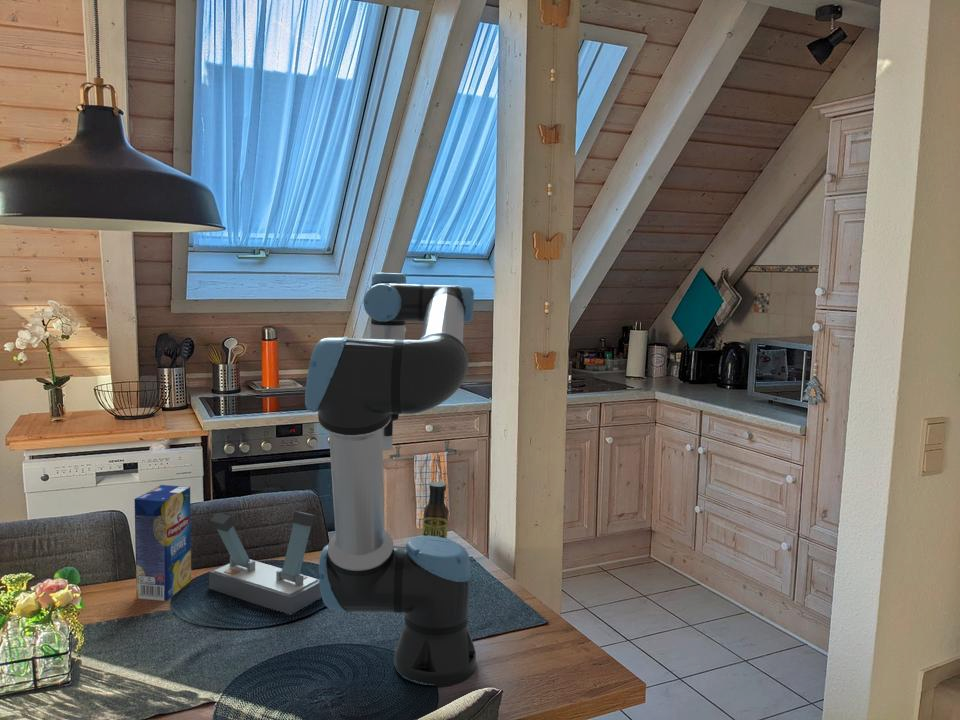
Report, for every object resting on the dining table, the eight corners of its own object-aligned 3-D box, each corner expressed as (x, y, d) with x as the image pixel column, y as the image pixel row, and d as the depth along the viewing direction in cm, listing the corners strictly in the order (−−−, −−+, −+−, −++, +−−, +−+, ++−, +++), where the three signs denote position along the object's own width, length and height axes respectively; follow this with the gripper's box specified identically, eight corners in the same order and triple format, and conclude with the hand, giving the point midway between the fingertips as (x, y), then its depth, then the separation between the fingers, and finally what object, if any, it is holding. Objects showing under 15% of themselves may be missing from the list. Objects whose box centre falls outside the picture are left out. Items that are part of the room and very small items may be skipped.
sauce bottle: (419, 565, 188) (421, 486, 185) (422, 555, 194) (424, 479, 192) (445, 566, 188) (448, 488, 185) (447, 557, 194) (450, 480, 191)
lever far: (253, 563, 172) (230, 516, 164) (246, 571, 170) (223, 523, 163) (240, 559, 174) (217, 512, 166) (233, 567, 172) (209, 520, 165)
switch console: (322, 598, 168) (323, 570, 167) (291, 615, 159) (291, 586, 158) (242, 573, 179) (242, 547, 178) (209, 588, 170) (209, 561, 170)
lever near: (299, 582, 165) (315, 515, 168) (292, 582, 163) (308, 514, 166) (285, 578, 167) (301, 512, 169) (278, 578, 165) (294, 511, 167)
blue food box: (191, 580, 174) (190, 486, 172) (166, 601, 164) (164, 501, 161) (162, 578, 175) (161, 484, 172) (136, 598, 164) (134, 499, 162)
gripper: (416, 346, 163) (413, 454, 166) (390, 340, 174) (388, 441, 177) (384, 347, 159) (381, 457, 162) (360, 341, 170) (358, 444, 173)
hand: (385, 449), depth 170 cm, fingers closed
